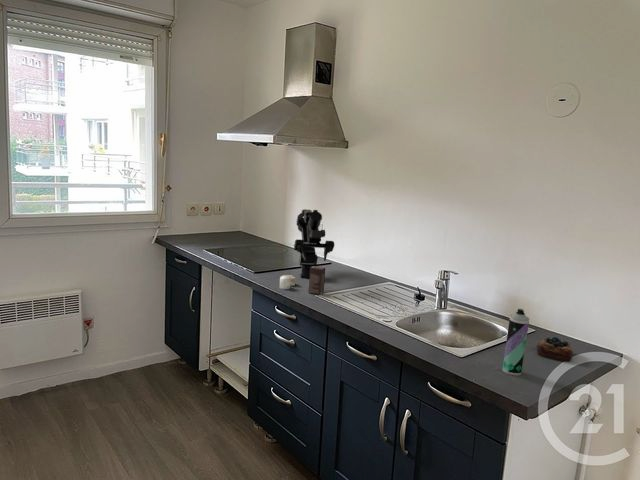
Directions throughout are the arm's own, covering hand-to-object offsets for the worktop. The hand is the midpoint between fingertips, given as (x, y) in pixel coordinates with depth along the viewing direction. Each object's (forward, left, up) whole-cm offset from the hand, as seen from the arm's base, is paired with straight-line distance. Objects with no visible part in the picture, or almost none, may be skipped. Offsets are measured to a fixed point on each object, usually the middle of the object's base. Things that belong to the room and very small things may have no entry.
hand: (315, 260), depth 225 cm
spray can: (+87, +54, -14) cm, 103 cm away
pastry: (+72, +77, -14) cm, 106 cm away
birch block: (-6, -12, -14) cm, 19 cm away
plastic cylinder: (+1, -13, -14) cm, 19 cm away
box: (+8, +1, -14) cm, 16 cm away
